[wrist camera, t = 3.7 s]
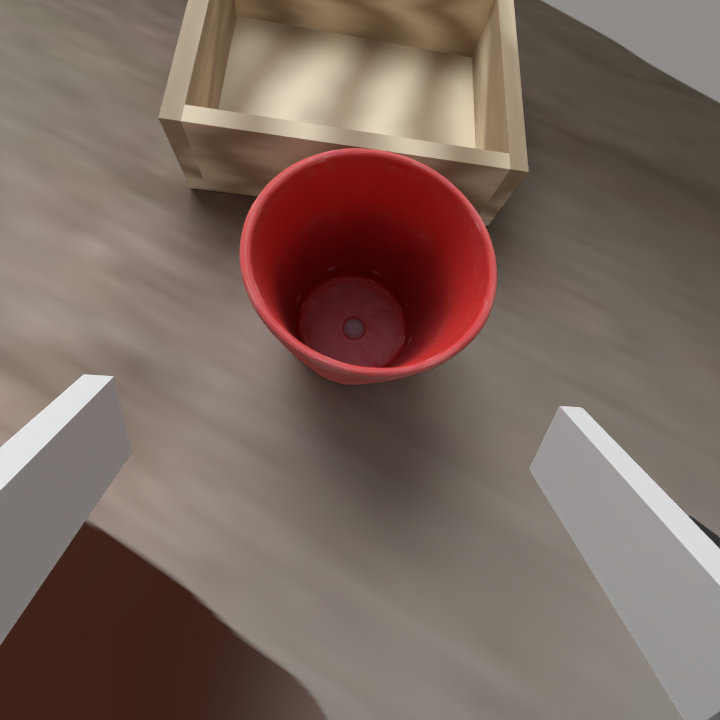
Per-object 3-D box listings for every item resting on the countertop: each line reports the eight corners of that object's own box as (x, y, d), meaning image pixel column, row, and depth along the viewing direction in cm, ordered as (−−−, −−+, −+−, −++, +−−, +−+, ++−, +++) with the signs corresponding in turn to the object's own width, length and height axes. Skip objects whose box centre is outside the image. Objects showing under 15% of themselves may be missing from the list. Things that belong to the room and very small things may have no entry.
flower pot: (379, 443, 23) (425, 434, 13) (234, 348, 23) (180, 273, 14) (456, 314, 26) (538, 232, 16) (327, 232, 26) (335, 106, 17)
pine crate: (479, 61, 32) (511, -16, 27) (487, 225, 28) (528, 171, 23) (226, 16, 30) (208, -78, 25) (190, 187, 25) (158, 117, 20)
